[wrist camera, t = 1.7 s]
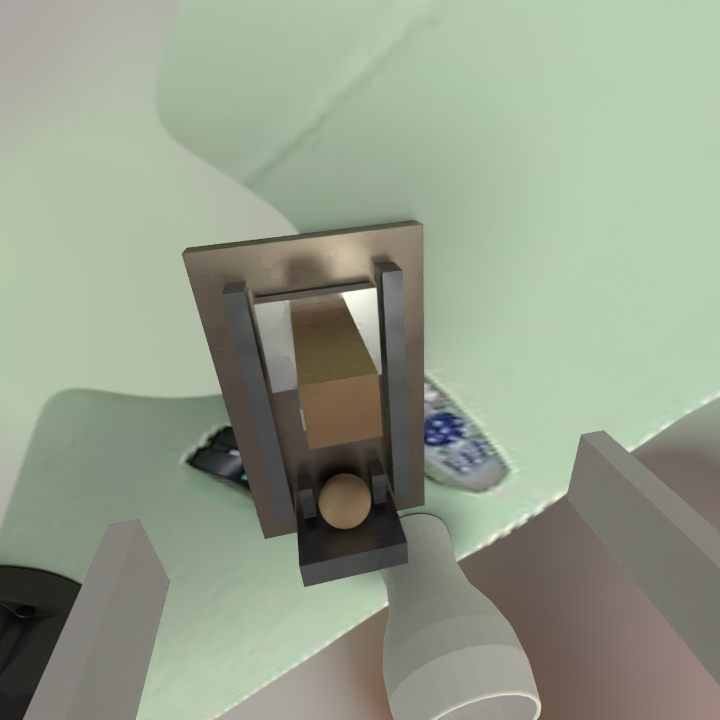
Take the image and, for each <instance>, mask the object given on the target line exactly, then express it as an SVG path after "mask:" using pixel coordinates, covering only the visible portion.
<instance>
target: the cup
mask: <svg viewBox="0 0 720 720" xmlns="http://www.w3.org/2000/svg"><path fill="white" fill-rule="evenodd" d="M399 519H400V522H401V525H402V528H403V531H404V534H405V537H406V540H407V546H408V563H406V564H402V565H398V566H393V567H389V568H385V569H380V570H379V571H380V573H381V576H382V578H383V580H384V582H385V584H386V587H387V594H388V602H389V610H390V613H389V618H388V623H387V628H386V633H385V637H384V653H383V676H384V680H385V686H386V690H387V695H388V700H389V705H390V709H391V713H392V715H393V718H394V720H537V718H538V717H539V715H540V710H541V702H540V699H539V695H538V692H537V688H536V685H535V681H534V677H533V674H532V671H531V667H530V664H529V661H528V659H527V657H526V654H525V652H524V650H523V648H522V646H521V644H520V642H519V640H518V638H517V636H516V634H515V633H514V630H513V629H512V626H511V625H510V623H509V622H508V621H507V620H506V619H505V617H504V616H503V615H502V614H501V613H500V611H499V610H498V609H497V608H496V607H495V606H494V604H493V603H492V602H491V601H490V600H489V599H488V598H486V597H485V596H484V595H483V594H482V593H481V592H479V591H478V590H477V589H476V588H475V587H473V586H472V585H471V584H470V583H469V582H468V581H467V579H466V577H465V576H464V574H463V572H462V571H461V569H460V567H459V566H458V564H457V562H456V559H455V555H454V551H453V547H452V543H451V539H450V536H449V533H448V530H447V528H446V526H445V524H444V522H442V521H441V520H440V519H439V518H437V517H434V516H432V515H426V514H415V515H409V516H405V517H402V518H399Z"/></svg>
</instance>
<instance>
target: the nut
mask: <svg viewBox="0 0 720 720" xmlns="http://www.w3.org/2000/svg"><path fill="white" fill-rule="evenodd" d="M370 506H371V496H370V492H369V489H368V487H367V485H366V484H365V483H364V482H363V480H361V479H360V478H359V477H357V476H355V475H352V474H338V475H335V476H333V477H332V478H330V479H329V480H328V481H327V482H326V483H325V484H324V486H323V487H322V489H321V491H320V495H319V508H320V512H321V514H322V516H323V518H324V519H325V520H326V521H327V522H328V523H329V524H330V525H332V526H334V527H336V528H340V529H349V528H353V527H355V526H357V525H359V524H360V523H361V522H363V520H364V519H365V518H366V517H367V515H368V513H369V510H370Z"/></svg>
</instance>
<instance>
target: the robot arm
mask: <svg viewBox="0 0 720 720" xmlns="http://www.w3.org/2000/svg"><path fill="white" fill-rule="evenodd" d="M567 499H568V500H569V501H570V503H571V504H572V505H573V506H574V508H575V509H576V510H577V511H578V513H579V514H580V515H581V516H582V517H583V519H584V520H585V521H586V522H587V524H588V525H589V526H590V527H591V529H592V530H593V531H594V532H595V533H596V535H597V536H598V537H599V538H600V540H601V541H602V542H603V543H604V544H605V546H606V547H607V548H608V549H609V551H610V552H611V553H612V554H613V556H614V557H615V558H616V559H617V560H618V562H619V563H620V564H621V565H622V567H623V568H624V569H625V570H626V572H627V573H628V574H629V575H630V576H631V578H632V579H633V580H634V581H635V583H636V584H637V585H638V586H639V587H640V589H641V590H642V591H643V592H644V594H645V595H646V596H647V597H648V598H649V600H650V601H651V602H652V603H653V605H654V606H655V607H656V608H657V610H658V611H659V612H660V613H661V614H662V616H663V617H664V618H665V619H666V621H667V622H668V623H669V624H670V625H671V627H672V628H673V629H674V630H675V632H676V633H677V634H678V635H679V637H680V638H681V639H682V640H683V641H684V643H685V644H686V645H687V646H688V648H689V649H690V650H691V651H692V653H693V654H694V655H695V656H696V657H697V659H698V660H699V661H700V662H701V664H702V665H703V666H704V667H705V668H706V670H707V671H708V672H709V673H710V675H711V676H712V677H713V678H714V680H715V681H716V682H717V683H718V684H719V686H720V532H719V531H717V530H716V529H715V528H714V527H713V526H712V525H711V524H709V523H708V522H707V521H706V520H705V519H703V517H701V516H700V515H699V514H698V513H697V512H696V511H694V509H692V508H691V507H690V506H689V505H688V504H687V503H686V502H684V501H683V500H682V499H681V498H680V497H679V496H678V495H676V494H675V493H674V492H673V491H672V490H671V489H670V488H668V487H667V486H666V485H665V484H664V483H663V482H662V481H661V480H659V479H658V478H657V477H656V476H655V475H654V474H653V473H651V472H650V471H649V470H648V469H647V468H646V467H645V466H644V465H642V464H641V463H640V462H639V461H638V460H637V459H636V458H634V457H633V456H632V455H631V454H630V453H629V452H628V451H627V450H625V449H624V448H623V447H622V446H621V445H620V444H619V443H617V442H616V441H615V440H614V439H613V438H612V437H611V436H610V435H608V434H607V433H606V432H605V431H604V430H603V431H598V432H592V433H587V434H582V435H581V438H580V442H579V446H578V450H577V454H576V459H575V463H574V467H573V471H572V476H571V480H570V484H569V488H568V492H567ZM169 582H170V580H169V578H168V576H167V574H166V572H165V570H164V568H163V566H162V564H161V562H160V560H159V559H158V557H157V555H156V553H155V551H154V549H153V547H152V545H151V543H150V541H149V539H148V537H147V535H146V533H145V531H144V529H143V527H142V525H141V523H140V521H139V519H137V520H132V521H127V522H122V523H116V524H111V525H109V526H108V528H107V531H106V533H105V535H104V537H103V540H102V542H101V544H100V547H99V549H98V551H97V553H96V556H95V558H94V560H93V562H92V565H91V567H90V569H89V571H88V574H87V576H86V578H85V580H84V583H83V585H82V587H80V586H79V585H77V584H75V583H73V582H71V581H68V580H66V579H64V578H61V577H58V576H55V575H52V574H48V573H44V572H40V571H35V570H29V569H21V568H7V567H0V720H136V716H137V711H138V707H139V703H140V699H141V695H142V691H143V687H144V683H145V679H146V675H147V671H148V667H149V663H150V659H151V655H152V651H153V647H154V643H155V639H156V635H157V631H158V626H159V622H160V618H161V614H162V610H163V606H164V602H165V598H166V594H167V590H168V586H169Z"/></svg>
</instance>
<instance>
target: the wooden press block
mask: <svg viewBox="0 0 720 720" xmlns="http://www.w3.org/2000/svg"><path fill="white" fill-rule="evenodd" d="M254 309H255V314H256V318H257V323H258V327H259V332H260V336H261V341H262V345H263V350H264V355H265V359H266V364H267V368H268V373H269V377H270V382H271V386H272V391H273V393H274V392H280V391H286V390H292V389H298V396H299V406H300V413H301V418H302V424H303V429H304V431H305V430H306V432H307V438H308V443H309V449H310V450H311V449H316V448H321V447H327V446H332V445H337V444H343V443H348V442H353V441H359V440H364V439H369V438H374V437H380V436H383V434H382V420H381V405H380V390H379V375H381V374H382V368H381V352H380V336H379V320H378V304H377V288H376V286H375V285H374V284H373V282H368V283H360V284H353V285H346V286H339V287H331V288H324V289H317V290H310V291H302V292H295V293H288V294H281V295H273V296H266V297H259V298H254Z"/></svg>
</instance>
